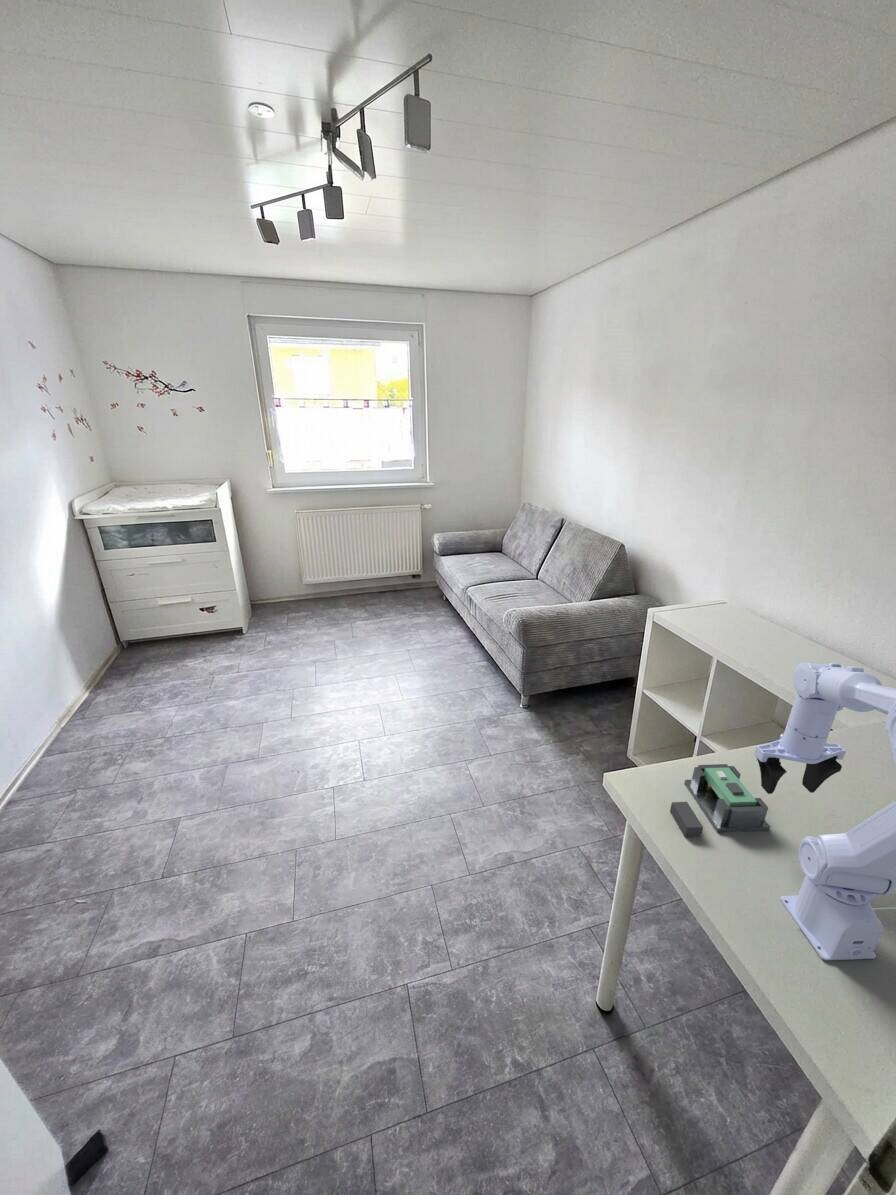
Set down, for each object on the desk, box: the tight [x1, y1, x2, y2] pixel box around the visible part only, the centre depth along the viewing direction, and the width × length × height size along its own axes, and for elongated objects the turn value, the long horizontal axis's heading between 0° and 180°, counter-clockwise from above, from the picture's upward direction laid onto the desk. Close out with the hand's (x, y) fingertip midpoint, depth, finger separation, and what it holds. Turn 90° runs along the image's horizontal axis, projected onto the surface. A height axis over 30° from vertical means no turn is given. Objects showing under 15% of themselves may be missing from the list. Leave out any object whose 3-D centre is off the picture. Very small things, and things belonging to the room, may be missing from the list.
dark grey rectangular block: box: [669, 801, 704, 838], centre depth 90 cm, size 6×3×2 cm, turn 2°
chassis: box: [684, 763, 771, 833], centre depth 94 cm, size 10×12×5 cm
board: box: [704, 767, 757, 808], centre depth 93 cm, size 5×9×3 cm, turn 2°
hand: (787, 789), depth 86 cm, fingers open, 7 cm apart
